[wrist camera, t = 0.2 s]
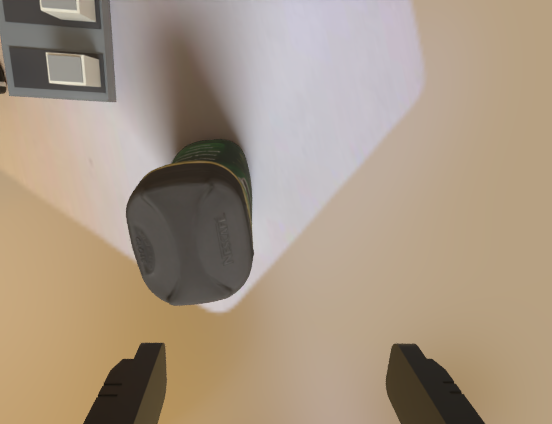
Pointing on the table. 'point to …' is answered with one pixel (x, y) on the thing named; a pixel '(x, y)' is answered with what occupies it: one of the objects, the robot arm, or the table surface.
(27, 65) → the panel
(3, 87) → the battery charger
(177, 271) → the coffee jar
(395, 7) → the table surface
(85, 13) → the block
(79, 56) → the breaker
